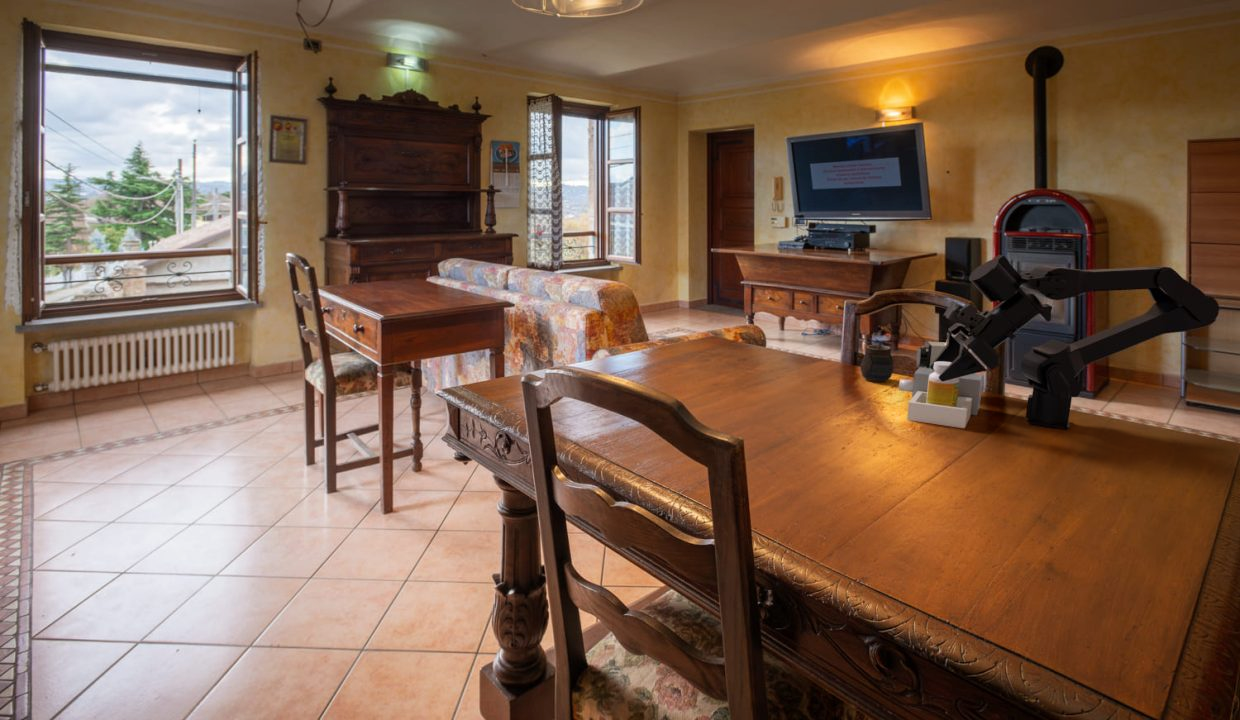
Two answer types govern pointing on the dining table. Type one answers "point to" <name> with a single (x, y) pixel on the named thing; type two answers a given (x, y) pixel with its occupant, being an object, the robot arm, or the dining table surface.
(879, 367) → the mate gourd
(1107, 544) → the dining table surface
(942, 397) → the supplement bottle
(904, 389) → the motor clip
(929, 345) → the pneumatic valve
